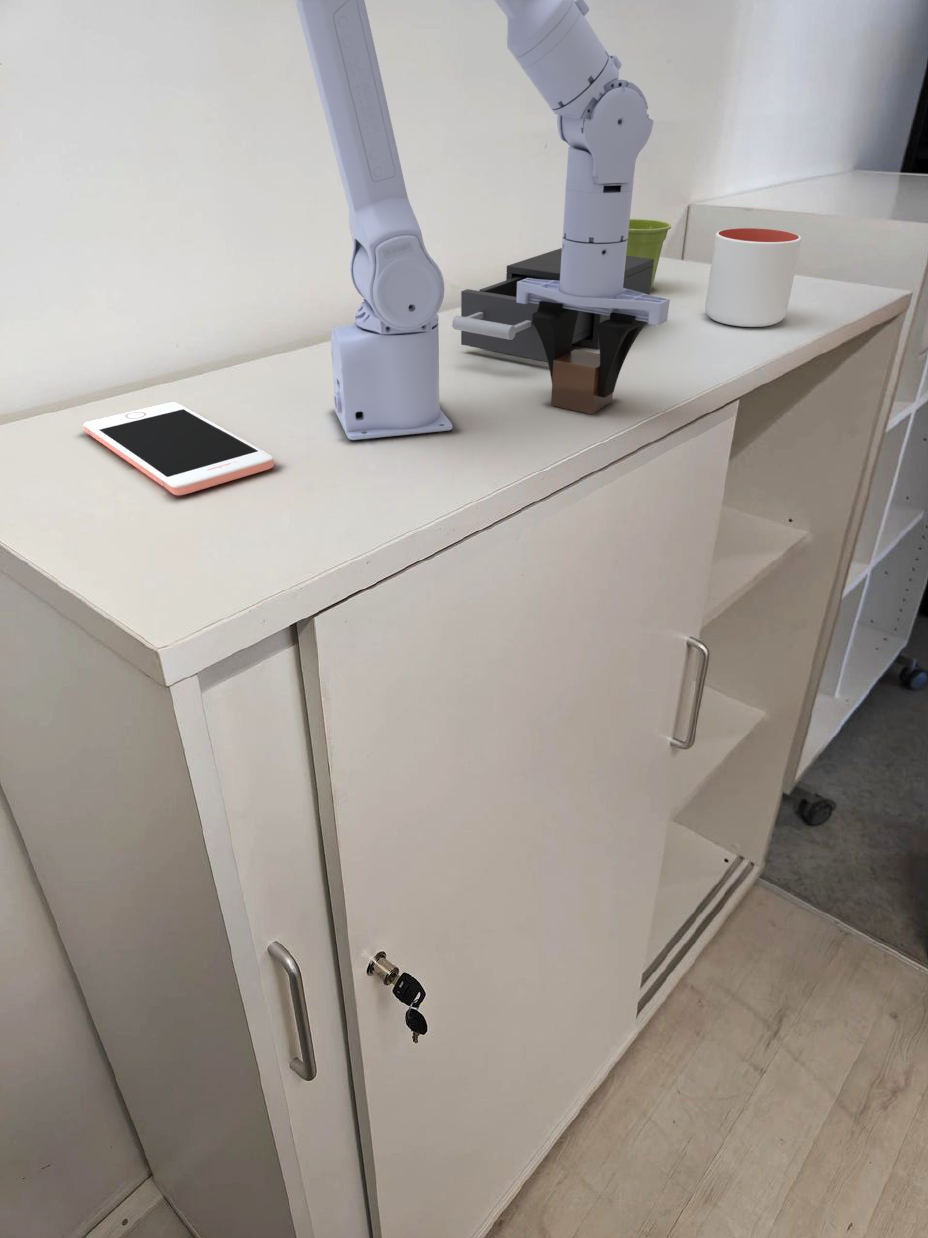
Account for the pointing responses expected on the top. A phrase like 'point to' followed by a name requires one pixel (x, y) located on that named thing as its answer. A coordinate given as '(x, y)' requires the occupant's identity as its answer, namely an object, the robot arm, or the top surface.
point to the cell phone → (178, 447)
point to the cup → (751, 276)
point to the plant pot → (647, 240)
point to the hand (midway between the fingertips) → (583, 389)
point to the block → (577, 382)
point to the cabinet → (549, 268)
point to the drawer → (507, 321)
